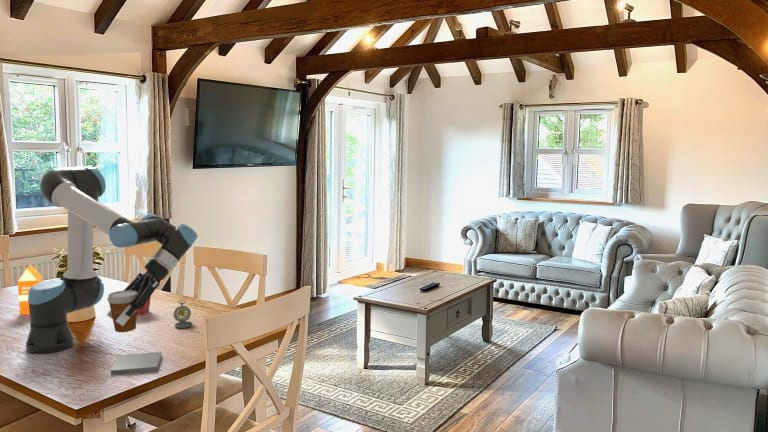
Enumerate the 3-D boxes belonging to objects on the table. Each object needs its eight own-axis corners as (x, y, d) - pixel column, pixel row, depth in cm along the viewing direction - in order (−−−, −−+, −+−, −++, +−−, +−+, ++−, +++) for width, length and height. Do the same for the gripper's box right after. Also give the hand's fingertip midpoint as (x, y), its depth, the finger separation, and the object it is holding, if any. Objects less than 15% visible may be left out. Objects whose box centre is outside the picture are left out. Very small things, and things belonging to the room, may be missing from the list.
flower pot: (119, 314, 259) (118, 292, 257) (139, 307, 269) (138, 286, 268) (139, 317, 255) (137, 295, 254) (157, 310, 265) (156, 289, 264)
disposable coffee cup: (103, 332, 195) (100, 296, 194) (125, 323, 204) (123, 288, 202) (125, 335, 192) (122, 299, 190) (147, 326, 200) (145, 291, 199)
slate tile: (110, 374, 194) (110, 370, 194) (118, 359, 207) (118, 355, 207) (157, 371, 197) (156, 366, 197) (161, 355, 211) (161, 351, 211)
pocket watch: (182, 330, 239) (181, 305, 238) (168, 326, 243) (167, 302, 242) (198, 324, 246) (198, 300, 245) (184, 321, 250) (184, 297, 249)
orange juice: (44, 308, 268) (41, 263, 265) (40, 313, 259) (36, 267, 257) (24, 309, 265) (21, 264, 263) (19, 315, 257) (16, 269, 254)
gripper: (181, 276, 198) (134, 334, 189) (157, 266, 214) (113, 319, 205) (164, 263, 193) (115, 321, 185) (141, 253, 209) (95, 307, 201)
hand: (114, 320), depth 195 cm, fingers closed on disposable coffee cup, 8 cm apart
